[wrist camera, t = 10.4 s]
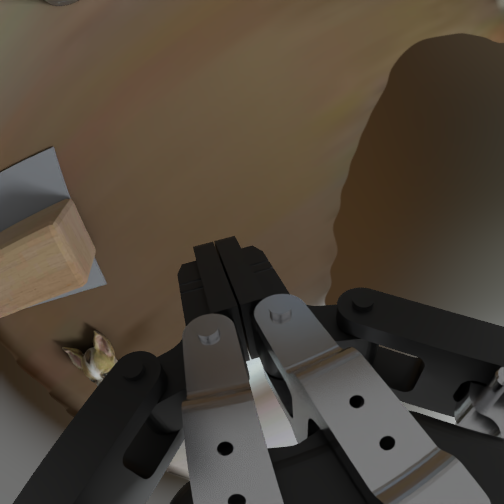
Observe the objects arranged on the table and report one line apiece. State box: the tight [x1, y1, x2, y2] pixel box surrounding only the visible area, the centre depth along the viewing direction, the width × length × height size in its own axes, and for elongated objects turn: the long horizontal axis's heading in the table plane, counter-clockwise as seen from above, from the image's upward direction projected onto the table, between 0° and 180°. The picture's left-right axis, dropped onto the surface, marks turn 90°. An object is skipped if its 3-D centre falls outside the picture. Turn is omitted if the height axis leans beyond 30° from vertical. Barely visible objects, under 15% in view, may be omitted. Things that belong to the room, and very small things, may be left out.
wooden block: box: [0, 199, 96, 318], centre depth 35 cm, size 10×10×20 cm
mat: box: [0, 147, 106, 308], centre depth 39 cm, size 24×22×1 cm
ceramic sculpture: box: [62, 330, 118, 386], centre depth 51 cm, size 11×9×15 cm
